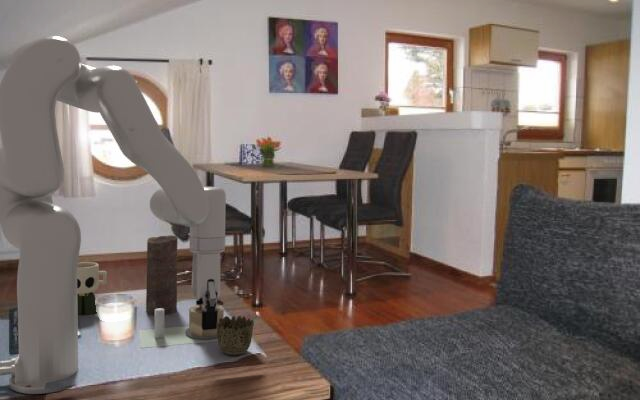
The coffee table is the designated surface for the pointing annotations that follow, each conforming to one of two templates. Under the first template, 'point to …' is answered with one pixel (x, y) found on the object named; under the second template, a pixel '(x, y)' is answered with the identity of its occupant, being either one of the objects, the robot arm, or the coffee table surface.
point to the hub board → (169, 334)
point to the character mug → (88, 286)
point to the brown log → (161, 274)
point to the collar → (196, 321)
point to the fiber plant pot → (234, 335)
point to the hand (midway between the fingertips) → (206, 322)
